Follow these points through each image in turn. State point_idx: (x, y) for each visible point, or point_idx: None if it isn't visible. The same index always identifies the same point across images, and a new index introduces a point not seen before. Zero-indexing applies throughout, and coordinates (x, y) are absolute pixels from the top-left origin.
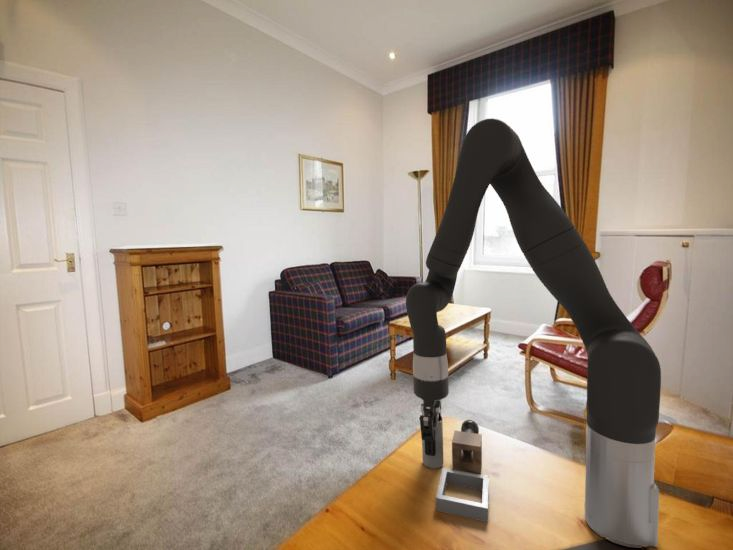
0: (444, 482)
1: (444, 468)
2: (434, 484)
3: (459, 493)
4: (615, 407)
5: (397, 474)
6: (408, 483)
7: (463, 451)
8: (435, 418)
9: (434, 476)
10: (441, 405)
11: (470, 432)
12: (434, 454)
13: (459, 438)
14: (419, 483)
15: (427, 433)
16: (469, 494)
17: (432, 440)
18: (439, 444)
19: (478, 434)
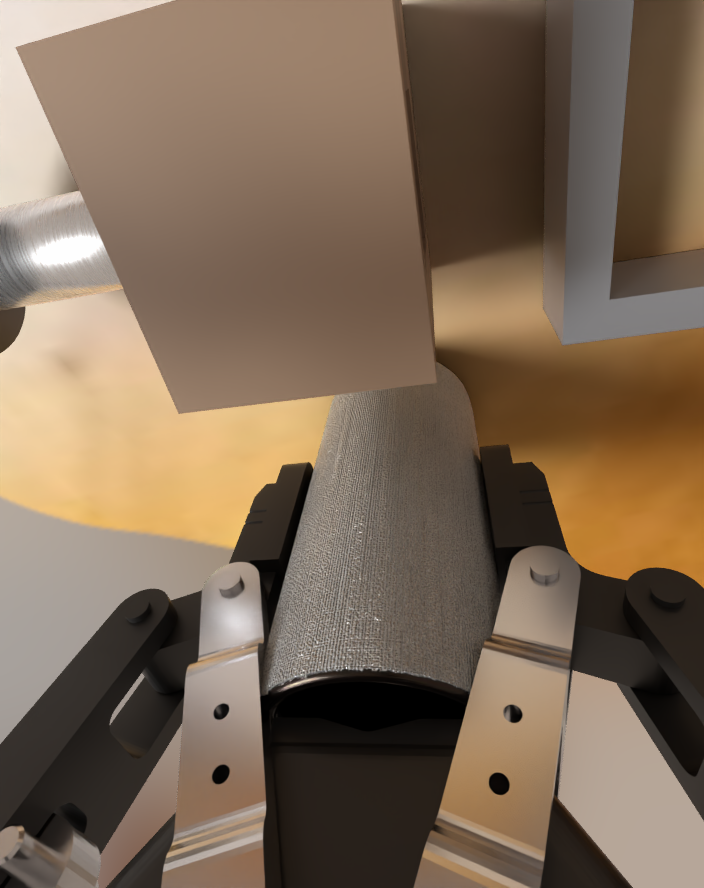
0: None
1: (567, 330)
2: (614, 343)
3: (685, 139)
4: None
5: (573, 539)
6: (641, 475)
7: None
8: (551, 805)
9: (526, 366)
10: (204, 876)
11: (4, 249)
12: (507, 452)
13: (311, 325)
14: (626, 425)
15: (590, 662)
16: (684, 44)
17: (697, 593)
18: (448, 468)
19: (55, 99)
